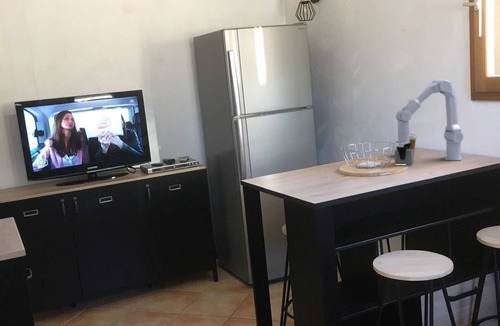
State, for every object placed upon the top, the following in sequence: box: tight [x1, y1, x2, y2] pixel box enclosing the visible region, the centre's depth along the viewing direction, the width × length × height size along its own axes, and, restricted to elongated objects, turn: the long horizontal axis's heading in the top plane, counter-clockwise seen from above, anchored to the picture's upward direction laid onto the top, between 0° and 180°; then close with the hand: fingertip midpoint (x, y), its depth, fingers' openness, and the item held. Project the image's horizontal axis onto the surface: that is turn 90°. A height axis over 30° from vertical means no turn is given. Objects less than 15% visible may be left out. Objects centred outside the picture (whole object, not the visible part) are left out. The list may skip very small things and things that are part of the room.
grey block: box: [394, 148, 415, 166], centre depth 284 cm, size 6×9×8 cm
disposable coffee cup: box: [409, 133, 417, 151], centre depth 303 cm, size 10×10×12 cm
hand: (403, 158), depth 284 cm, fingers open, 7 cm apart
